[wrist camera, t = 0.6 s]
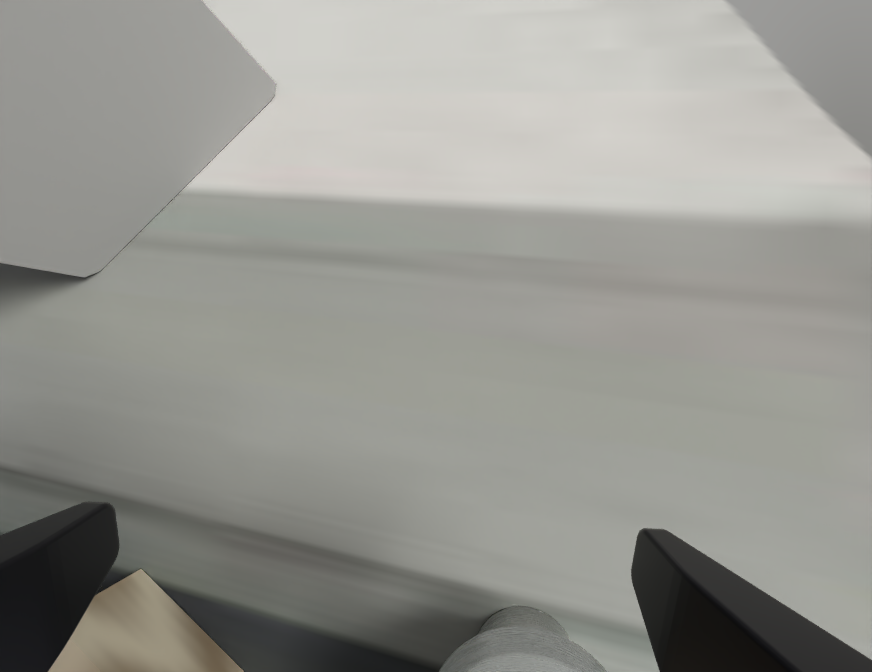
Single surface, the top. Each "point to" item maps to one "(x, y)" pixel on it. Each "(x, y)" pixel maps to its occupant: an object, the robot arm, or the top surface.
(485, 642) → the silver metal cylinder
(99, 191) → the fuel canister
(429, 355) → the top surface
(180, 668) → the block
